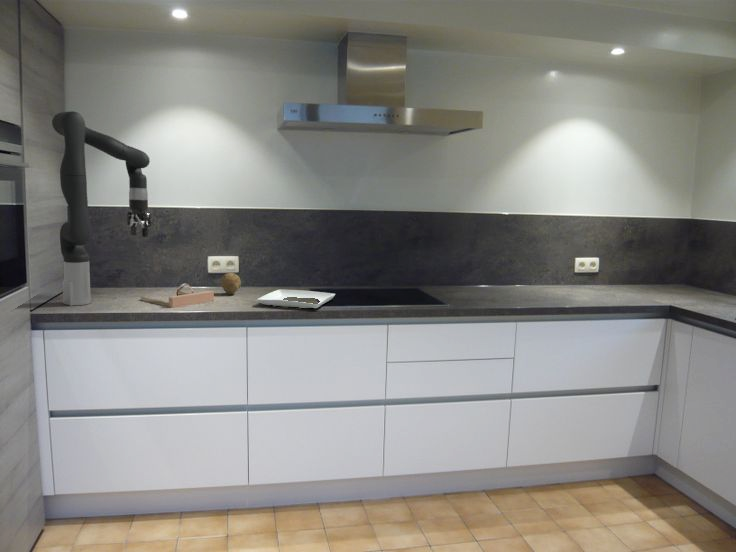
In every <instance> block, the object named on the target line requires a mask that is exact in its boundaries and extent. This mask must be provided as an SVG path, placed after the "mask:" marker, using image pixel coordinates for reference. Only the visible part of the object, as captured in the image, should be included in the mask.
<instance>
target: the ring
mask: <svg viewBox="0 0 736 552" xmlns="http://www.w3.org/2000/svg"><path fill="white" fill-rule="evenodd" d="M184 288H188V289H189V290H190V291H191V293H192V294H193V293H195V291H194V288H193V287H191V285H189V283H182V284H180V286H179V287H178V288H177V290H176V296H179V291H181V289H184Z"/></svg>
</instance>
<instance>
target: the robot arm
mask: <svg viewBox="0 0 736 552" xmlns="http://www.w3.org/2000/svg"><path fill="white" fill-rule="evenodd" d="M51 124H52V128H53V130H54V131H55V132H56V133H57V134H58V135H60V136H63V137H64V154H63V157H62V160H61V163H60V168H59V169H60V170H59V178H60V179H59V181H60V189H61V192H62V195H63V197H64V200H65V201H66V205H67V207H68V212H69V221H66V222H63V224H62V225H61V227H60V231H59V240H60V241H59V242H60V250H61V251H60V252H61V255H62V258H63V274H64V277H63V280H62V303H63V304H64V305H67V306H71V307H72V306H84V305H89V304H91V301H92V299H91V274H90V256H89V253H88V252H87V251H86V249H85V245H87V244H88V243H89V241H90V240H91V239H92V234H93V233H92V231H93V230H92V225H91V220H90V213H89V204H88V202H89V200H88V190H87V189H88V186H87V185H88V183H87V181H88V180H87V171H86V155H85V154H86V153H85V144H86V145H88V146H90V147H93V148H94V149H97V150H99V151H101V152H103V153H104V154H107V155H109V156H110V157H113V158H114V159H117V160H119V161H120V160H121V161H125V167H126V171H127V175H128V179H129V180H128V184H129V191H128V205H129V207H128V208H129V210H131V211H127V213H126V214H127V216H126V217H127V218H126V219H127V221H126V222H127V223H126V224H127V225H128V226H129V227H130V235H131V236H137V224H140V225H141V226H140V227H141V237H143V238H147V237H148V236H149V235H148V231H149V228H151V226H152V219H151V218H152V217H151V216H152V215H151V212H146V211H147V210H149V203H148V200H149V198H148V196H149V195H148V186H147V185H148V184H147V183H148V182H147V176H146V175H145V174H143V172H142V169H145V168H147V167H149V165H150V162H151V161H150V157H149V155H148V154H147V153H146V152H144V151H143V150H140V149H138V148H135V147H133V146H130V145H127V144H126V143H124V142H122V141H120V140H119V139H116V138H114V137H112V136H110V135H107V134H104V133H101V132H99V131H96V130H94V129H92V128H89V127H87V126H86V123H85V120H84V117H83V116H82V115H81V114H80V112H77V111H61V112H58V113H57V114H54V116H53V117H52V119H51Z"/></svg>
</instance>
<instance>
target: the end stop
mask: <svg viewBox="0 0 736 552" xmlns="http://www.w3.org/2000/svg"><path fill="white" fill-rule="evenodd" d="M214 294H215V293H214V291H211V290H209V291H208V290H207V291H201V292H194V293H193V294H186V295H179V294H178V295H179V296H177V295H174V296H168V302H169V308H171V309H172V308H174V309H175V308H179V307H183V306H191V305H196V304H203V303H209V302H214V301H215V300H214V299H215V297H214Z"/></svg>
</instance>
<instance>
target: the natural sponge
mask: <svg viewBox="0 0 736 552" xmlns="http://www.w3.org/2000/svg"><path fill="white" fill-rule="evenodd" d="M220 284H221V287H222V290H223V291H224V292H225V293H226V294H227V295H229V296H230V295H233V294H235V293H236V292H237V291H238V290H239V289H240V288H241V286H242V281H241V277H240V276H238V275H237V274H236V273H234V272H227V273H225V274H224V275H223V276H222V277H221V278H220Z"/></svg>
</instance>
